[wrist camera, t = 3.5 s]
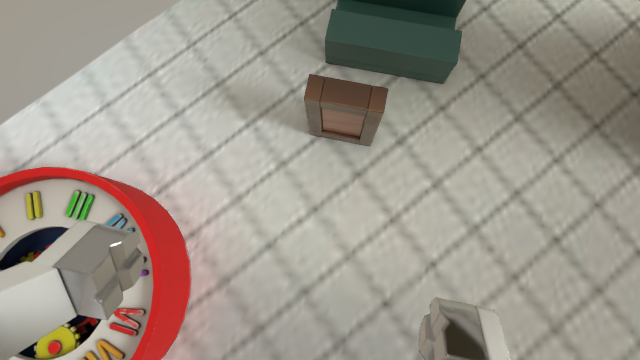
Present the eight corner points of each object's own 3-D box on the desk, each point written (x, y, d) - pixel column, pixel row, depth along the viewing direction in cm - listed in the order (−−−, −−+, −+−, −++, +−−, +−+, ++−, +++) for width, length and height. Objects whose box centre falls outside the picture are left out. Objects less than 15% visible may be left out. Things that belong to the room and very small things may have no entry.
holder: (443, 84, 36) (457, 63, 32) (325, 62, 37) (325, 39, 33) (456, -2, 38) (472, -33, 34) (344, -21, 39) (345, -53, 35)
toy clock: (102, 477, 26) (-143, 387, 27) (144, 435, 31) (-60, 362, 33) (199, 205, 29) (-25, 138, 30) (220, 212, 35) (32, 155, 36)
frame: (370, 146, 36) (383, 113, 27) (310, 134, 36) (303, 98, 27) (374, 127, 36) (388, 88, 27) (314, 115, 36) (309, 73, 27)
